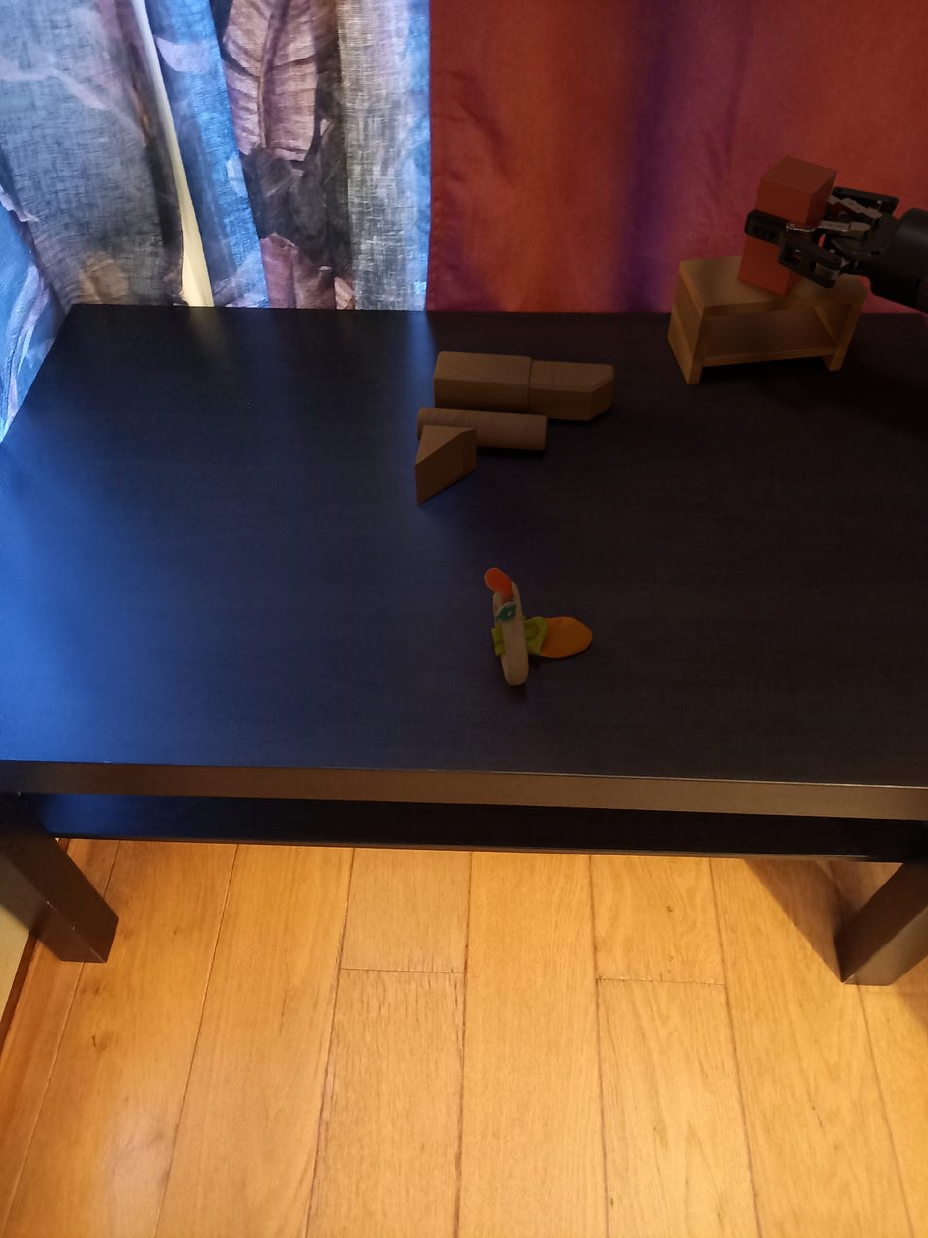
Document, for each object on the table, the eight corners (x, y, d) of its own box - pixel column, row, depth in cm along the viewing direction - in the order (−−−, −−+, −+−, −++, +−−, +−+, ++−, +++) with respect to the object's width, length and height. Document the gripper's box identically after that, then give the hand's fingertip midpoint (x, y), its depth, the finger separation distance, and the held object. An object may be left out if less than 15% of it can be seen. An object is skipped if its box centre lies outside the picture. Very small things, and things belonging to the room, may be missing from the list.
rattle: (588, 708, 71) (602, 614, 62) (481, 697, 72) (480, 603, 63) (592, 630, 76) (606, 532, 67) (491, 621, 77) (492, 523, 68)
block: (807, 272, 91) (837, 170, 83) (784, 296, 89) (813, 193, 81) (760, 256, 93) (785, 154, 85) (736, 278, 91) (760, 176, 83)
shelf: (812, 324, 101) (837, 246, 94) (840, 370, 96) (868, 291, 89) (667, 337, 100) (680, 260, 93) (687, 384, 95) (703, 306, 88)
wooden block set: (429, 339, 91) (616, 351, 90) (431, 387, 96) (609, 399, 94) (401, 457, 81) (612, 472, 79) (405, 504, 85) (605, 519, 84)
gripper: (989, 191, 81) (805, 137, 88) (927, 264, 74) (733, 200, 81) (954, 270, 87) (785, 214, 94) (894, 345, 80) (716, 279, 87)
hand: (762, 208), depth 87 cm, fingers closed on block, 5 cm apart
